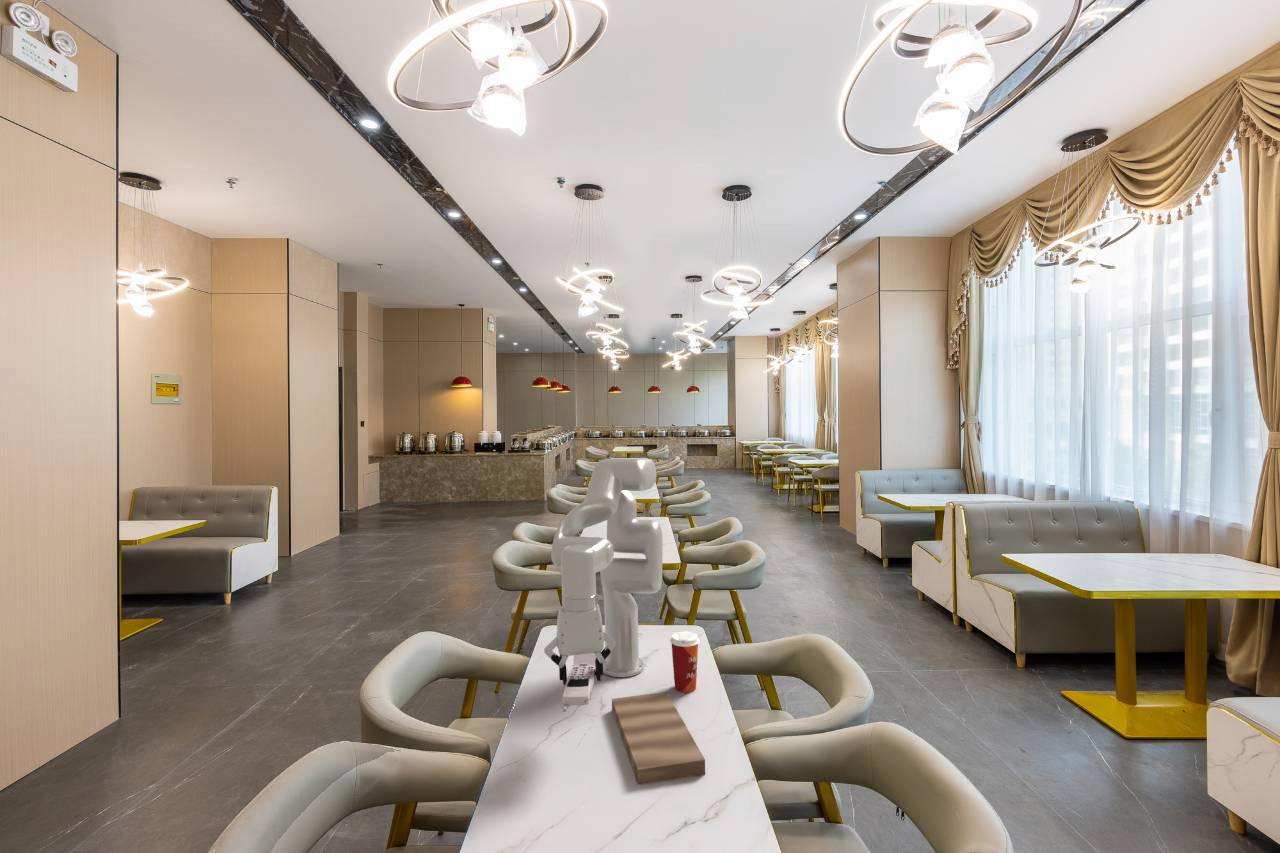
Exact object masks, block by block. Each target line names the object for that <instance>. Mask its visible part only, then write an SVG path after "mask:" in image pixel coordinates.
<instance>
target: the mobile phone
mask: <svg viewBox="0 0 1280 853" xmlns="http://www.w3.org/2000/svg"><path fill="white" fill-rule="evenodd" d="M595 659H596V655H595V653H590V654H581V655H573V663H572V665H571V668H570V671H569V672H568V673H569V674H568V675H567V682H566V685H564V689H563V694H562V697H561V699H562V700H561V702H562V706H563V707H562V713H566V712H567V710H568V709H569V707H570V706H588V704H589V702H590V700H592V694H593V692H592V691H593V687H594V685H595V684H594V683H595V679H596V670H595Z"/></svg>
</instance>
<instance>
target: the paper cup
mask: <svg viewBox="0 0 1280 853" xmlns="http://www.w3.org/2000/svg"><path fill="white" fill-rule="evenodd" d="M669 642H670V644H671V654H672V656H671V658H672V668H673V682H674V689H675V691H676V692H679V693H683V694H684V693H685V694H689V693H693V692H694V691H696V689H697V677H698V676H697V675H698V657H699V656H698V655H699V643H700V639H699V637H698V634H697V633H695V632H692V631H687V630H686V631H676V632H674V633H673V634H672V635H671V638H670V641H669Z"/></svg>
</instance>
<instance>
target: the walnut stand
mask: <svg viewBox="0 0 1280 853" xmlns="http://www.w3.org/2000/svg"><path fill="white" fill-rule="evenodd" d="M611 712H612V714H613V717H614V720H615V722H616V726H617V729H618V731H619V734H620V738H621V740H622V742H623V745H624V749H625V752H626V754H627V755H626V756H627V757H628V760H629V763H630V766H631V768H632V772H633V774H634V777H635V780H636V783H637V785H645V784H650V783H657V782H663V781H669V780H676V779H683V778H689V777H696V776H702V774H703V775H706V759H705V757H704V755H703V753H702V752H701V750H700V748H699V747H698V745H697V743H696V741H695V739H694V737H693V736H692V734H691V732H690V731H689V729H688V727H687V725H686V724H685V722H684V720H683V719H682V716H681V715H680V713H679V711H678V710H677V707H676V706H675V704H674V703H673V701H672V699H671V697H670V695H669V693H668V692H667V691H663V692H656V693H649V694H647V693H646V694H638V695H631V696H622V697H615V698H611Z"/></svg>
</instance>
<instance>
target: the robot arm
mask: <svg viewBox="0 0 1280 853" xmlns="http://www.w3.org/2000/svg"><path fill="white" fill-rule="evenodd" d="M657 475H658V474H657V468H656V464H655V462H654V461H653V460H652V459H650V458H622V457H621V458H620V457H618V458H615V457H614V458H604V459H601V460H599V461H598V462H596V464H595V465H594V467H593V470H592V474H591V475H590V476H591V477H590V481H589V484H588V488H587V490H586V495H585V498H584V501H582V502H580V503H578V505H577V506H575V507H574V508H573V509H571V510H570V511H569V512H568V513H567V514H566V515H564V516H563V518H562V519H561V520H560V522H559V524H558V526H557V529H556V531H555V535H554V538H553V540H552V541H553V542H552V545H551V552H550V555H551V556H550V558H551V561H552V564H553V565H554V566H555V567H557V568H558V569H561V570H560V571H561V574H560V576H561V604H562V605H561V606H560V607H559V608H558V612H557V619H556V620H557V621H556V637H554V638H553V639H552V640H551V641H550V642H549V643H548V644H547V645H546V646H545V647H544V649H543V652H544V654H545V655H546V656H547V657H548V658H549V659H550V660H551V661H552V662H553V663H555V665H557V666H558V668H559V670H558V672H559V673H558V674H559V680H560V681H562V683H563V686H565V685H566V682H567V678H568V675H567V670H568V669H567V665H566V662H567V660H568V658H569V657H572V656H574V655H581V654H590V653H595V655H596V659H595V670H596V675H595V679H596V680H597V682H601V681H602V678H601V676H603V675H606V676H609V677H612V678H613V677H614V678H629V677H633V676H637V675H639V674H640V673H641V672H643V671H644V669H645V662H644V660H642V659H641V657H639V608H638V604H637V602H636V600H635V598H634V597H633V595H632V594H644V595H646V594H647V595H651V594H656V593H658V592H659V591H661V588H662V584H663V530H662V527H661V525H660V523H659V522H657V521H656V520H652V519H638V516H637V508H638V506H637V505H638V504H637V503H638V502H637V500H636V497H635V496H634V495H633V493H632V491H633V492H637V491H638V492H644V491H648V490H650V489H652V488H653V487H654V485H655V483H656V481H657ZM605 521H606V538H604V537H596V536H594V537H593V536H591V537H590V536H576V535H577V534H578V533H579V532H581V531H582V530H585V529H587V528H590V527H592V526H595V525H597V524H601V523H603V522H605ZM614 553H619V554H620V553H621V554H635V555H636V554H641V555H643V556H644V557H645V558H633V557H614V555H615V554H614ZM597 573H600V575H599V576H600V583H601V587H602V592H603V593H602V594H599V593H597V576H596V574H597ZM601 601H603V603H604V604H603V606H604V609H603V610H604V626H603V619H602V613H601V608H600V607H601V606H600V605H599V604H598V603H599V602H601ZM556 647H557V649H558V654H559V655H558V654H557V653H555V652H554V649H556Z"/></svg>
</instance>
